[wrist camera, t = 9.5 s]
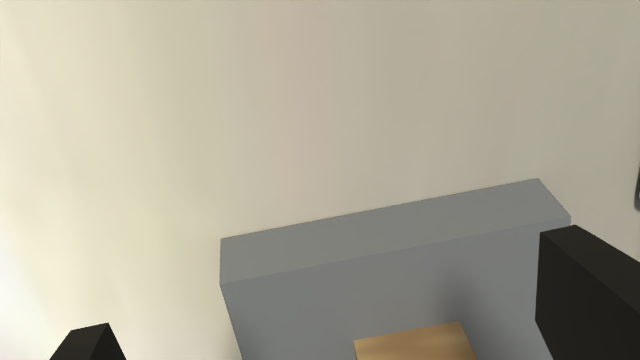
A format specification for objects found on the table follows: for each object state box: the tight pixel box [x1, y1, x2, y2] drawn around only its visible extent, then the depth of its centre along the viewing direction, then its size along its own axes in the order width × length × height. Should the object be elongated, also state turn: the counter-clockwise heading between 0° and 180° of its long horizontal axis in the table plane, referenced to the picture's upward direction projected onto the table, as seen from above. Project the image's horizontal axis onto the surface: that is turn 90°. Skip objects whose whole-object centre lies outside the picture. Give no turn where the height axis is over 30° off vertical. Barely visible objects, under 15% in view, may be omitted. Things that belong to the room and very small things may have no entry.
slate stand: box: [220, 178, 571, 360], centre depth 24 cm, size 12×12×2 cm
